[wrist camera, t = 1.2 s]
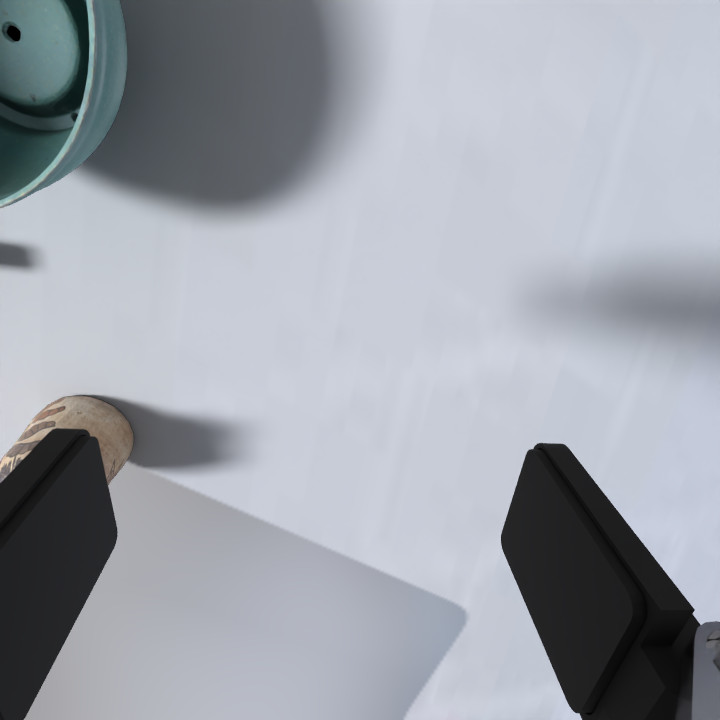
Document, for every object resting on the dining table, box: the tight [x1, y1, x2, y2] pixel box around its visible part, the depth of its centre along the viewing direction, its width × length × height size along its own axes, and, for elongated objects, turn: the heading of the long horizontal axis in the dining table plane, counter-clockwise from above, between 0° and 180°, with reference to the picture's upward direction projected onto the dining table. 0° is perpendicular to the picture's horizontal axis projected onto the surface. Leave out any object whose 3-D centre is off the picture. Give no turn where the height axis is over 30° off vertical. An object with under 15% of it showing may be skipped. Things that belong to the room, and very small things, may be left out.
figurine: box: [0, 396, 134, 485], centre depth 30 cm, size 7×7×12 cm
